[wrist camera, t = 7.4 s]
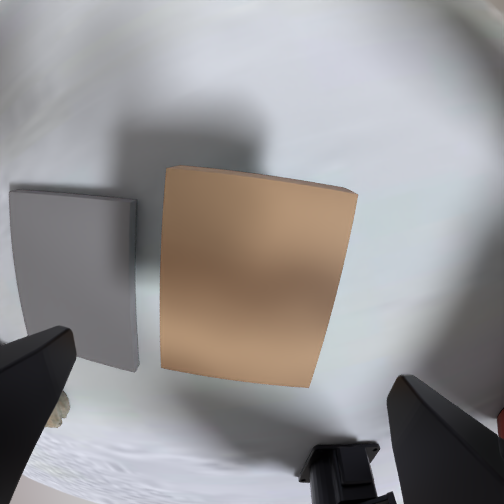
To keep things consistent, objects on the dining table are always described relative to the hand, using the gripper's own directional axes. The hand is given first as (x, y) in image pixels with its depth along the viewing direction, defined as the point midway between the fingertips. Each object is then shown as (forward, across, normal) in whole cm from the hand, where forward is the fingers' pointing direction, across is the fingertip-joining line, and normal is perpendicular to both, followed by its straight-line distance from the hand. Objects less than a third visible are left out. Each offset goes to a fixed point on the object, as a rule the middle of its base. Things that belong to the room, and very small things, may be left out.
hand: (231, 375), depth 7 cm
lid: (+7, 0, 0) cm, 7 cm away
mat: (+11, +12, +4) cm, 17 cm away
